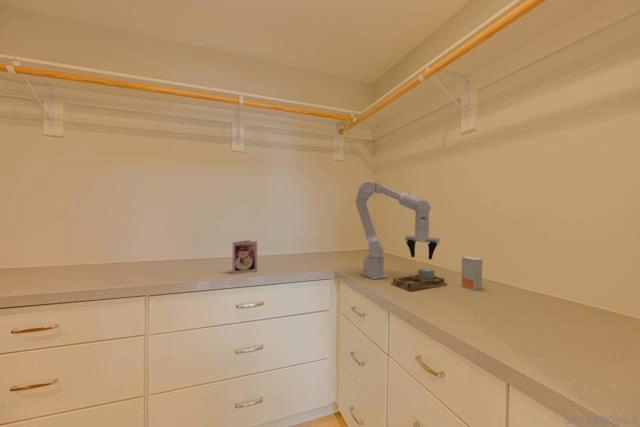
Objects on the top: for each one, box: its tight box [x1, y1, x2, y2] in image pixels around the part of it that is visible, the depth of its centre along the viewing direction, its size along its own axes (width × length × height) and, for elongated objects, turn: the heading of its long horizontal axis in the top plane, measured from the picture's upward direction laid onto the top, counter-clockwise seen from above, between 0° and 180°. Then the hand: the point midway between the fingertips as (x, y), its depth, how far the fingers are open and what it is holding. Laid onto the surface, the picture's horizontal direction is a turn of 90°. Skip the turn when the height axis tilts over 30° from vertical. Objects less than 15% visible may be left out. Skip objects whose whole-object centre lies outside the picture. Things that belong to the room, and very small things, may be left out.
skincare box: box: [460, 255, 483, 291], centre depth 104 cm, size 6×4×12 cm
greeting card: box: [232, 239, 258, 275], centre depth 128 cm, size 11×7×15 cm, turn 116°
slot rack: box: [390, 274, 448, 293], centre depth 107 cm, size 11×20×3 cm, turn 116°
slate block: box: [417, 267, 435, 281], centre depth 109 cm, size 4×4×5 cm
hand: (421, 258), depth 116 cm, fingers open, 7 cm apart
